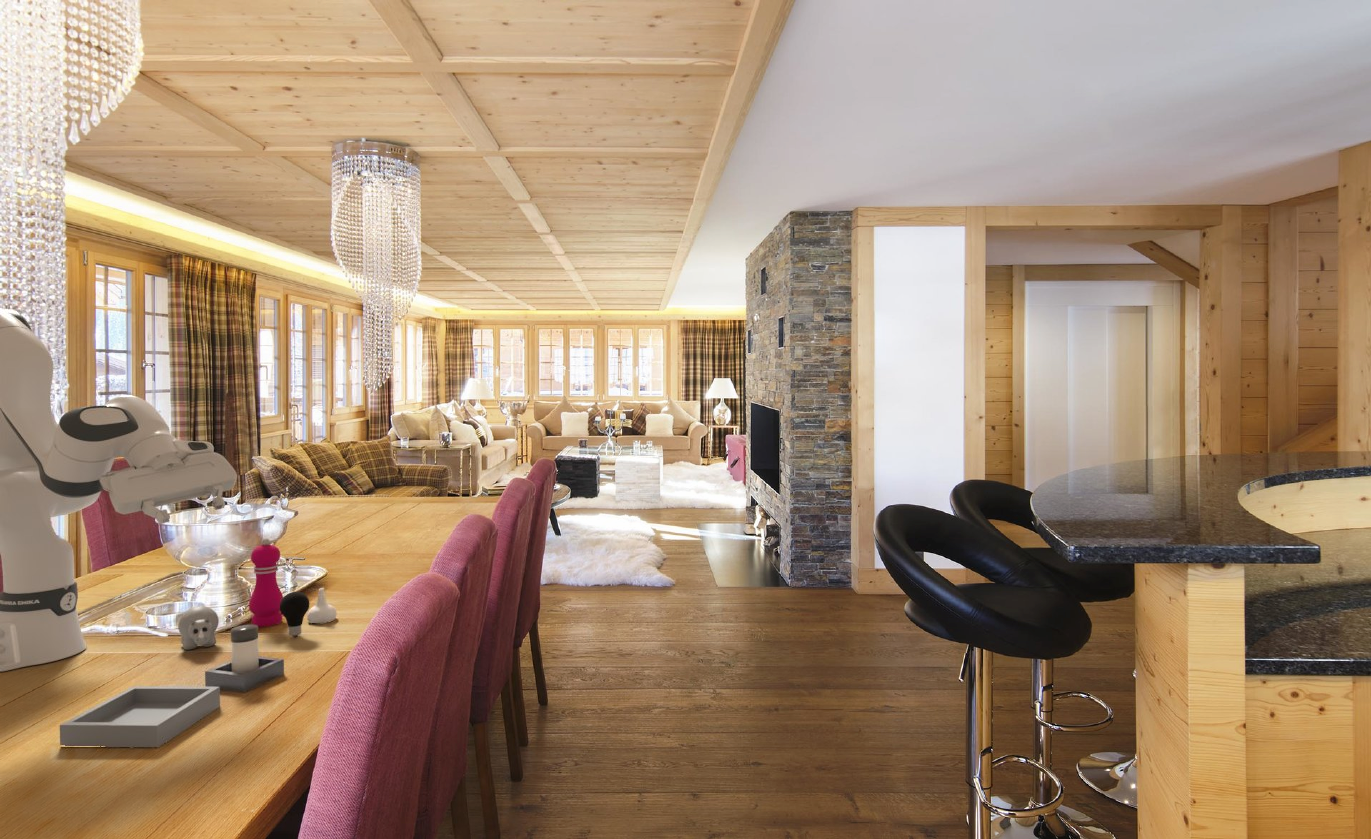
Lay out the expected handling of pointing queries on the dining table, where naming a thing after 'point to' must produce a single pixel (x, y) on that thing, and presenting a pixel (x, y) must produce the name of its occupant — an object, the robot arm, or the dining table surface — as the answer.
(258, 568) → the pepper mill
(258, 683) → the socket collar
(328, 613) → the garlic bulb
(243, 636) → the salt shaker
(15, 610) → the robot arm
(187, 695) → the slate tray
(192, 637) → the chubby cartoon animal
